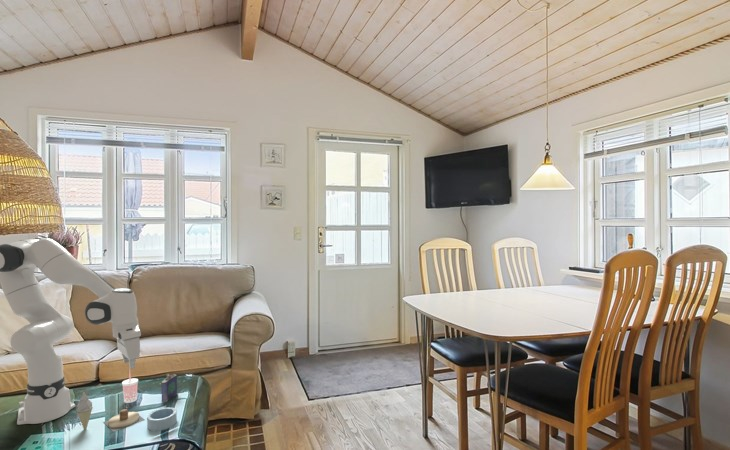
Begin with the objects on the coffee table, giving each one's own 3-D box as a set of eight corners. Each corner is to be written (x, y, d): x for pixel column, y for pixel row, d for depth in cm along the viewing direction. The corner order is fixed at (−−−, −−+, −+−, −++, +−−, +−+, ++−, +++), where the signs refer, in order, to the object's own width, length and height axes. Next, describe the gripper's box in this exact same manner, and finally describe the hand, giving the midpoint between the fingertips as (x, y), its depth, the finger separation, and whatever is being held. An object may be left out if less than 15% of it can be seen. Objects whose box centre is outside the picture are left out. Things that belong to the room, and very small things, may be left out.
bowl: (143, 426, 153) (143, 414, 153) (169, 416, 161) (169, 405, 161) (154, 435, 147) (154, 423, 147) (181, 424, 154) (180, 412, 154)
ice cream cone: (90, 425, 154) (89, 387, 154) (95, 430, 151) (93, 390, 151) (75, 431, 150) (73, 391, 150) (79, 435, 147) (78, 395, 147)
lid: (104, 422, 156) (103, 411, 156) (133, 411, 164) (132, 401, 164) (114, 431, 149) (113, 420, 149) (143, 419, 157) (143, 409, 157)
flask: (165, 403, 172) (164, 378, 171) (159, 403, 172) (158, 378, 172) (178, 393, 181) (178, 370, 181) (172, 393, 181) (172, 369, 181)
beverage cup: (141, 400, 175) (140, 368, 174) (126, 406, 170) (125, 373, 169) (134, 397, 178) (133, 365, 178) (119, 402, 173) (118, 370, 173)
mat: (103, 423, 156) (103, 422, 156) (133, 412, 164) (133, 411, 164) (113, 433, 149) (113, 431, 149) (144, 421, 157) (144, 419, 157)
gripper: (111, 327, 161) (114, 361, 162) (122, 336, 146) (126, 374, 146) (128, 324, 165) (132, 357, 166) (141, 332, 150) (145, 368, 151)
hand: (129, 365), depth 156 cm, fingers open, 8 cm apart
